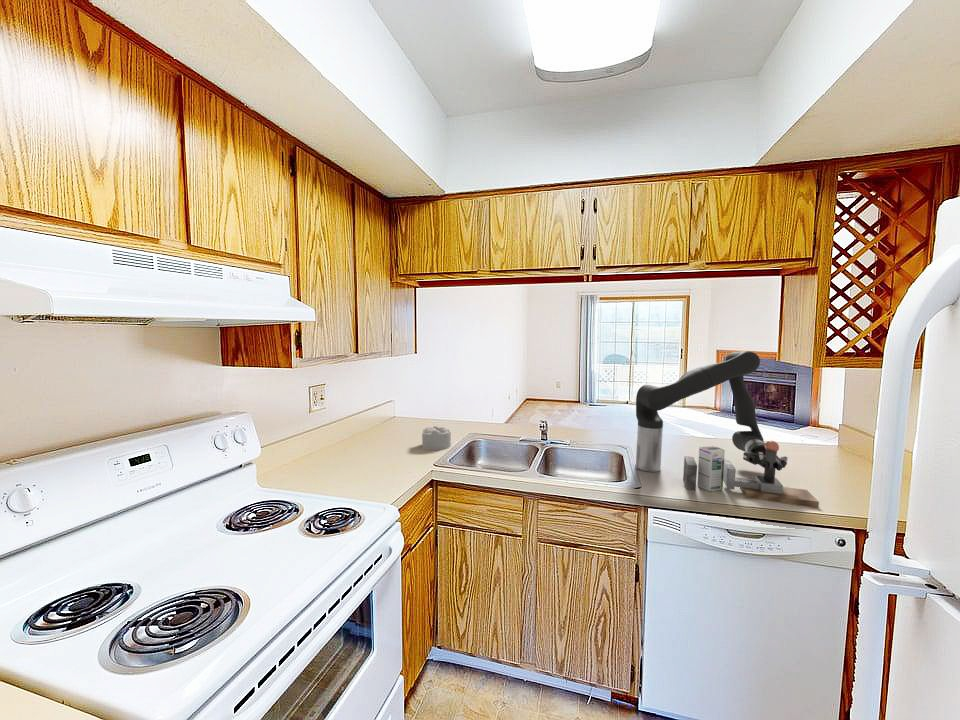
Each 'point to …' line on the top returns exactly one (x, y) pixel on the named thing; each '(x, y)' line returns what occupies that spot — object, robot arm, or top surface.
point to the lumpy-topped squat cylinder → (436, 438)
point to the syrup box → (711, 468)
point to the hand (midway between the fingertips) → (773, 466)
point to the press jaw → (761, 483)
